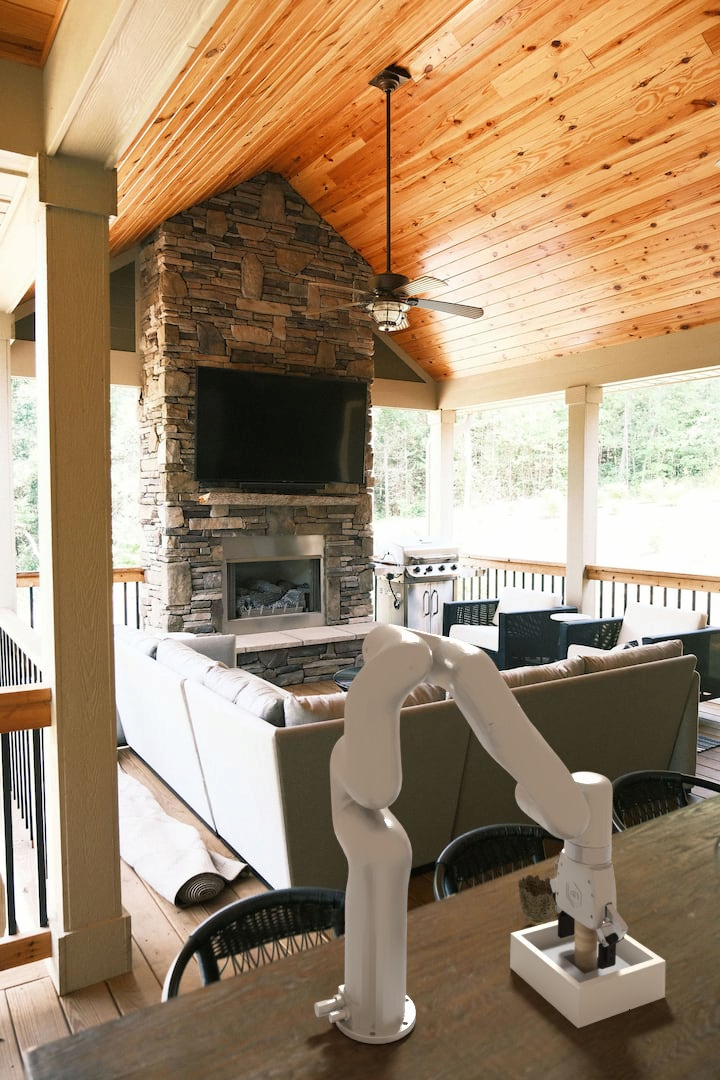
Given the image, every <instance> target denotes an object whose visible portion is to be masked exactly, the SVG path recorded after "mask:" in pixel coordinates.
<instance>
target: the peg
mask: <svg viewBox="0 0 720 1080" xmlns="http://www.w3.org/2000/svg"><path fill="white" fill-rule="evenodd" d="M597 934H598V933H597V931H596V930H591V929H589V928H587V927H586V926H584V925H583V924H581V923H580V922H578V921H577V920H576V919H575V957H574V966H575V967H576V968H578V969H579V970H580V971H581V972H583V973H584V974H585V973H588V972H591V971H594V970H597Z"/></svg>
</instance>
